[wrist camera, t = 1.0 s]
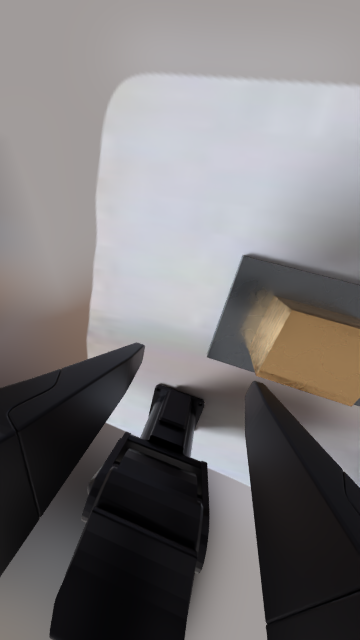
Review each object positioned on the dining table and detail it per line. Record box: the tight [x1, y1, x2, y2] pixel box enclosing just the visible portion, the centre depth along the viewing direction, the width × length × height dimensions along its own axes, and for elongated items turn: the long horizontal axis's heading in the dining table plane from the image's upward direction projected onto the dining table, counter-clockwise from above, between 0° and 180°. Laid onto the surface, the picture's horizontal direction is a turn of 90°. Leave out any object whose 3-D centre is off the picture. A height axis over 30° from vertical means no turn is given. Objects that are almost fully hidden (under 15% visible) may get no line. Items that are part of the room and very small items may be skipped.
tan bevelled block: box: [248, 296, 360, 407], centre depth 14 cm, size 6×7×4 cm
